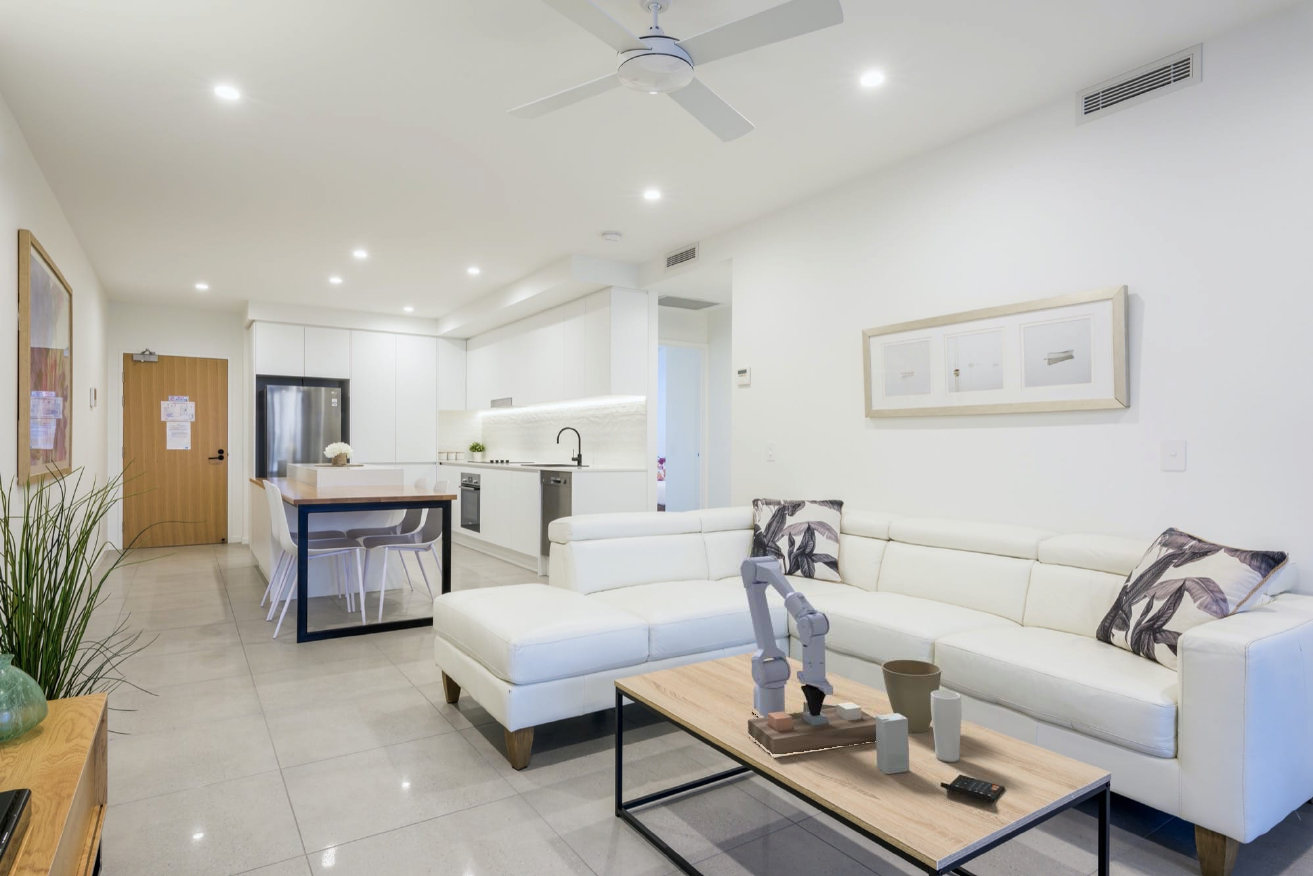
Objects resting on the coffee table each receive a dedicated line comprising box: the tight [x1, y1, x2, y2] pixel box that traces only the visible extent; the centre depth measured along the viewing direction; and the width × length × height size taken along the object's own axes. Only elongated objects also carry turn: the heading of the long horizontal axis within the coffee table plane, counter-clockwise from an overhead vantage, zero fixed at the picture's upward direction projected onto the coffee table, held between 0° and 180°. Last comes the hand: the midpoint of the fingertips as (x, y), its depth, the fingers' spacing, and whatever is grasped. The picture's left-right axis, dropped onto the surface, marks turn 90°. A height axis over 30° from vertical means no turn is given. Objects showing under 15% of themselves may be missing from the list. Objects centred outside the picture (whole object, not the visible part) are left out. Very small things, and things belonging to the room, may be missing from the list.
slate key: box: [803, 711, 827, 726], centre depth 181 cm, size 4×4×4 cm
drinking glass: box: [931, 689, 963, 763], centre depth 168 cm, size 7×7×15 cm
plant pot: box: [881, 659, 942, 733], centre depth 188 cm, size 15×15×16 cm
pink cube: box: [768, 711, 792, 731], centre depth 178 cm, size 4×4×4 cm
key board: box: [747, 706, 876, 754], centre depth 181 cm, size 14×31×4 cm, turn 108°
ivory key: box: [836, 701, 862, 721], centre depth 184 cm, size 4×4×4 cm
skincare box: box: [875, 713, 910, 775], centre depth 163 cm, size 6×4×12 cm
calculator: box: [940, 774, 1006, 804], centre depth 151 cm, size 9×12×3 cm
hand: (815, 715), depth 181 cm, fingers closed, pressing on slate key
